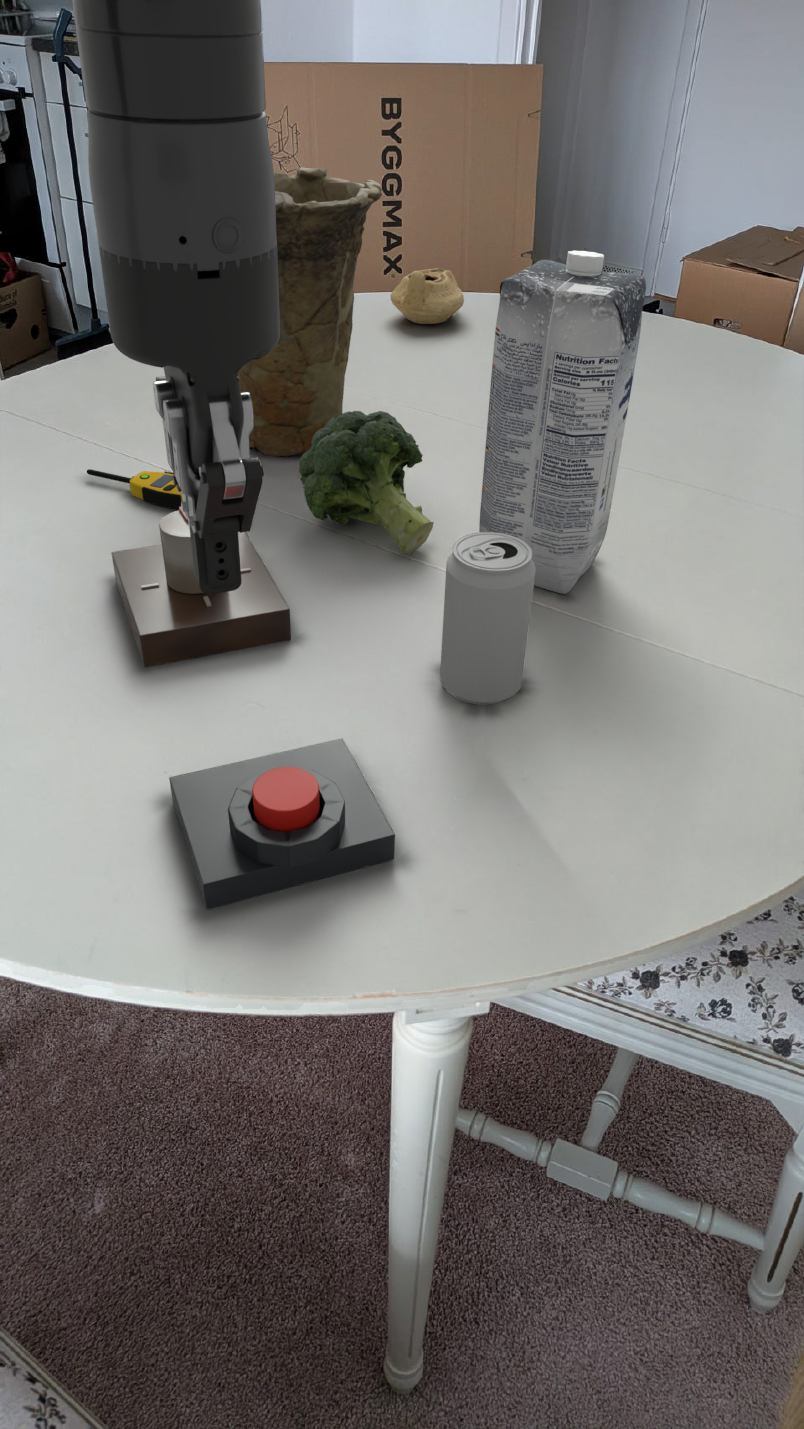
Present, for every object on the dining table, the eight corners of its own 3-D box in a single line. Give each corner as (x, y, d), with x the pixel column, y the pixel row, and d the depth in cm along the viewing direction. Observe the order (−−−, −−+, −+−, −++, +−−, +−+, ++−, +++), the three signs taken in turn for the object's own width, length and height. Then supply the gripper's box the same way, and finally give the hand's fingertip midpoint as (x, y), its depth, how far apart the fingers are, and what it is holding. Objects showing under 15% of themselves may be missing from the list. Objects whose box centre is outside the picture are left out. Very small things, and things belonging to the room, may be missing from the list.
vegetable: (350, 567, 87) (254, 447, 91) (385, 601, 100) (300, 494, 103) (457, 477, 86) (356, 358, 90) (480, 522, 98) (390, 416, 102)
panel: (144, 667, 78) (139, 634, 76) (116, 581, 89) (110, 550, 87) (291, 639, 82) (289, 607, 80) (247, 560, 92) (245, 529, 90)
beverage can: (535, 700, 76) (554, 563, 69) (459, 718, 74) (470, 578, 67) (498, 656, 81) (513, 522, 74) (426, 671, 79) (433, 535, 72)
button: (263, 839, 59) (262, 817, 58) (246, 796, 62) (244, 774, 61) (328, 823, 60) (327, 801, 59) (308, 781, 63) (307, 760, 62)
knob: (234, 587, 83) (229, 527, 79) (175, 599, 81) (167, 538, 77) (217, 559, 86) (211, 500, 83) (159, 570, 84) (151, 511, 81)
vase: (186, 433, 115) (159, 172, 98) (303, 394, 126) (296, 154, 109) (292, 482, 105) (282, 202, 89) (408, 435, 116) (418, 179, 100)
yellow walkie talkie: (197, 498, 98) (70, 469, 102) (199, 516, 99) (73, 487, 103) (223, 479, 101) (99, 452, 105) (224, 497, 102) (101, 469, 107)
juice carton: (573, 605, 88) (623, 281, 71) (466, 573, 91) (490, 259, 75) (608, 562, 94) (661, 255, 77) (506, 534, 98) (536, 236, 81)
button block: (208, 915, 59) (201, 868, 56) (172, 801, 66) (165, 756, 64) (397, 864, 63) (398, 818, 60) (343, 762, 70) (342, 717, 68)
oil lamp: (468, 306, 158) (472, 252, 153) (457, 335, 146) (461, 278, 141) (400, 301, 159) (402, 247, 154) (384, 329, 147) (385, 272, 142)
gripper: (77, 204, 46) (127, 539, 57) (122, 279, 36) (172, 666, 47) (237, 198, 48) (255, 521, 59) (319, 268, 39) (323, 639, 49)
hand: (218, 585), depth 53 cm, fingers closed
